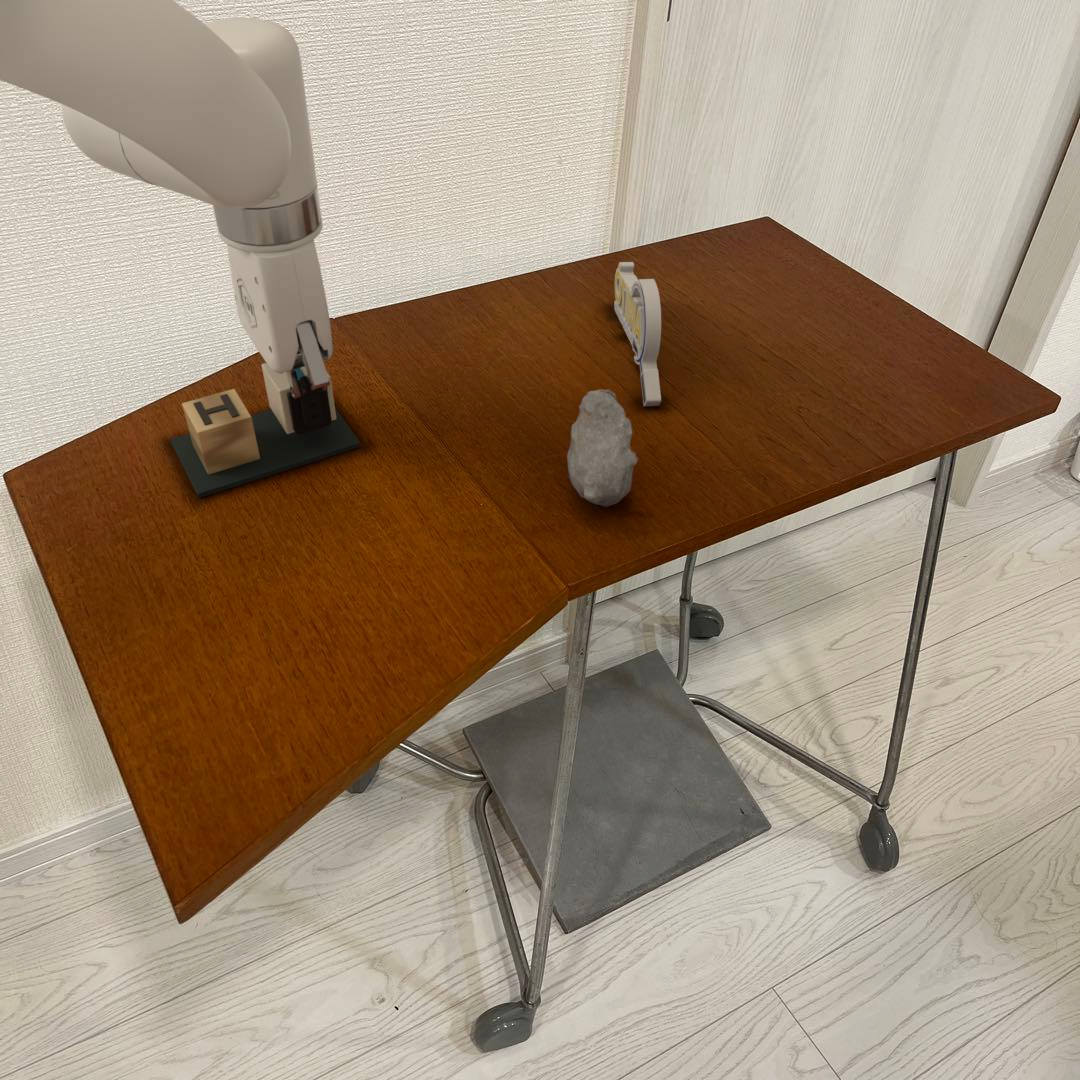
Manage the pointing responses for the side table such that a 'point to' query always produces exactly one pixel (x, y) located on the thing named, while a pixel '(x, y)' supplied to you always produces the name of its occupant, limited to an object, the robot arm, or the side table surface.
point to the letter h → (221, 431)
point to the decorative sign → (640, 325)
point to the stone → (601, 450)
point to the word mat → (267, 453)
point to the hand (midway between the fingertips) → (301, 409)
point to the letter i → (278, 395)
